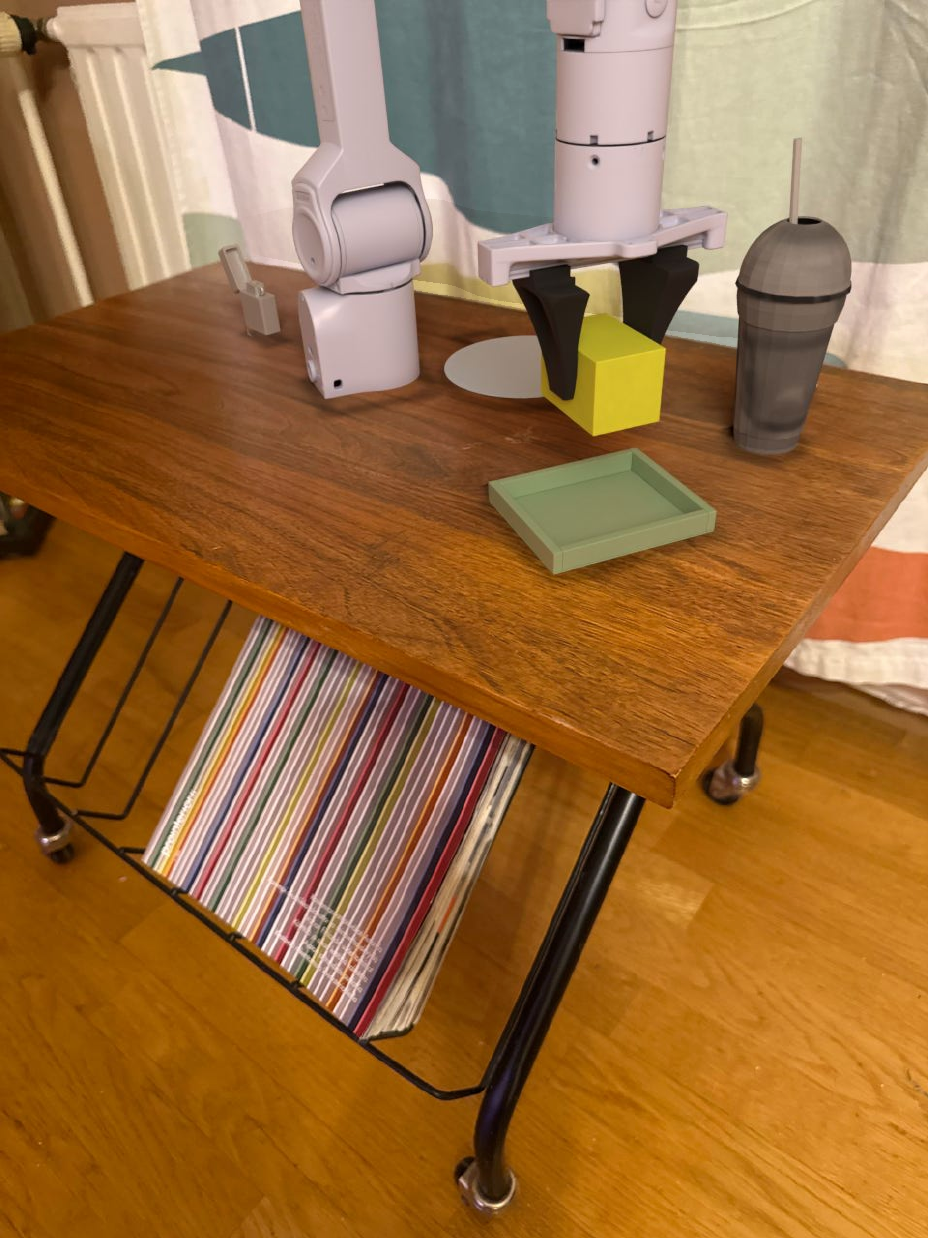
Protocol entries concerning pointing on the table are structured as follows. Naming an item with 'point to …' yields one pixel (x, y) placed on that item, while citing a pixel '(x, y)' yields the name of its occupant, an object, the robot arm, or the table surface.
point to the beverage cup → (786, 323)
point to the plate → (498, 367)
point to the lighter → (250, 293)
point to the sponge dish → (599, 509)
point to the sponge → (613, 378)
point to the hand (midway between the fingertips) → (598, 386)
